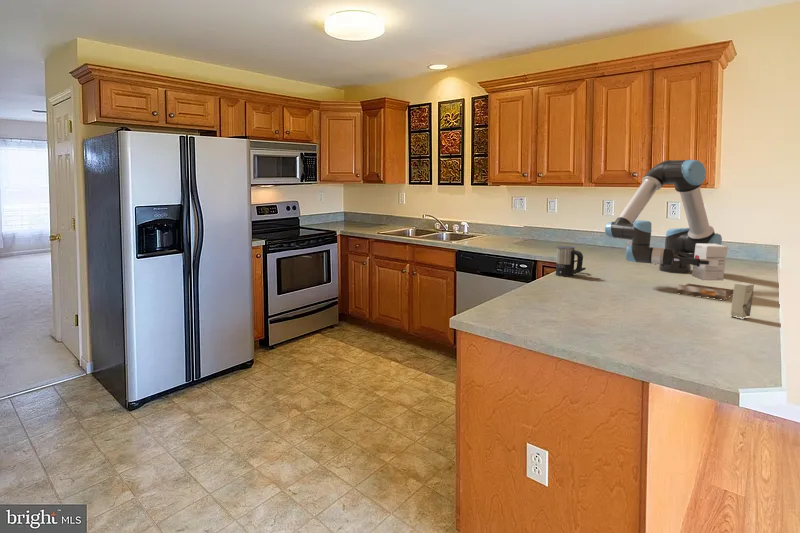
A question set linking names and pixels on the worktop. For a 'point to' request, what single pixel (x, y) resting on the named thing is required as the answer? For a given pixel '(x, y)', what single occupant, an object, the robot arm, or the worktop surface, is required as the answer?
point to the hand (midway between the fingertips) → (719, 261)
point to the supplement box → (714, 254)
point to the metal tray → (705, 291)
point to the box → (742, 299)
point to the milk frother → (568, 261)
